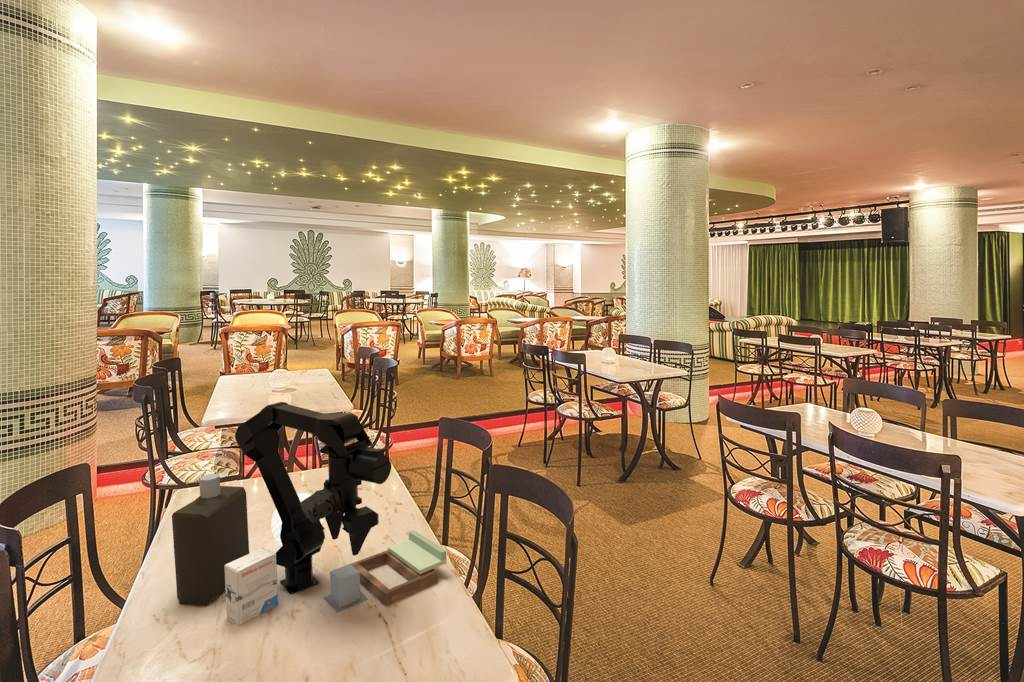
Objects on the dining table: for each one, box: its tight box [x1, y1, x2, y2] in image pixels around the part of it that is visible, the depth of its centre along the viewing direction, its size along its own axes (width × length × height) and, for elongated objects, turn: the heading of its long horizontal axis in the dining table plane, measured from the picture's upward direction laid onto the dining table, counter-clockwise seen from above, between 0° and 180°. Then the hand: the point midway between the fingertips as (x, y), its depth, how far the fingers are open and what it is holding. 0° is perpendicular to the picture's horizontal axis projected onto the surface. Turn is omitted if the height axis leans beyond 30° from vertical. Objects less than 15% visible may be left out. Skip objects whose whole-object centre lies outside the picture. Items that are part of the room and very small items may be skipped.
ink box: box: [225, 547, 279, 626], centre depth 110 cm, size 9×5×12 cm, turn 147°
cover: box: [387, 529, 447, 574], centre depth 126 cm, size 14×7×3 cm, turn 43°
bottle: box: [171, 473, 250, 607], centre depth 119 cm, size 8×16×25 cm, turn 174°
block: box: [329, 563, 361, 607], centre depth 115 cm, size 4×4×6 cm
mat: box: [322, 591, 369, 613], centre depth 115 cm, size 7×7×1 cm
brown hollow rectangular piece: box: [350, 549, 438, 606], centre depth 123 cm, size 16×13×3 cm
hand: (344, 546), depth 114 cm, fingers open, 9 cm apart
